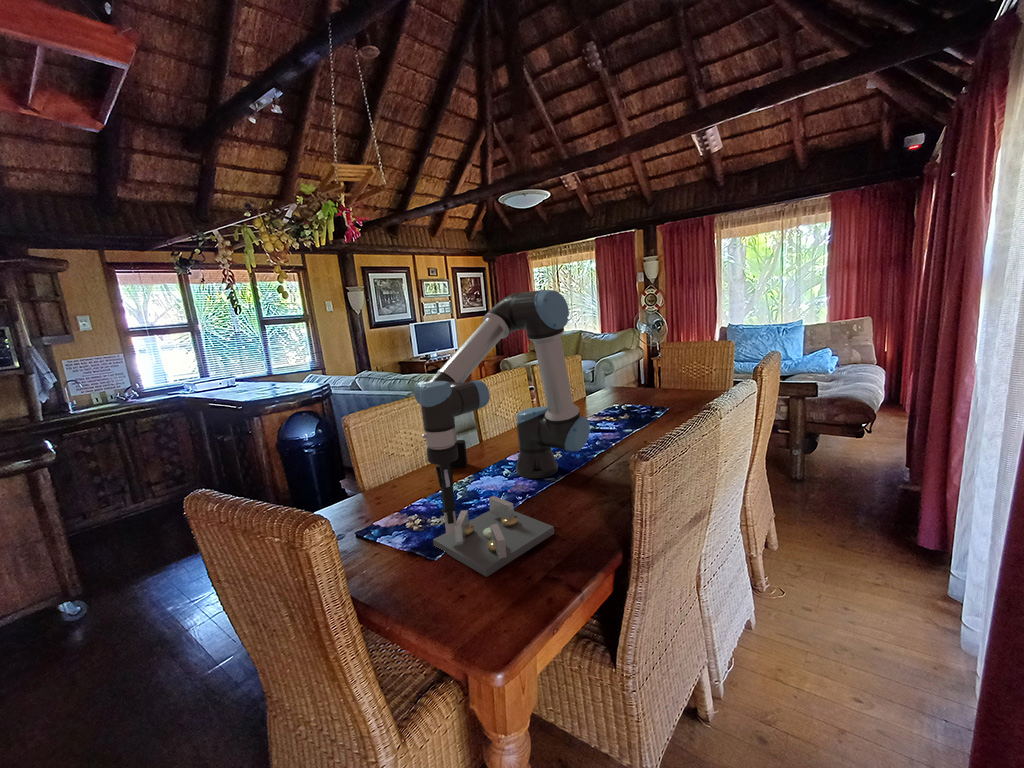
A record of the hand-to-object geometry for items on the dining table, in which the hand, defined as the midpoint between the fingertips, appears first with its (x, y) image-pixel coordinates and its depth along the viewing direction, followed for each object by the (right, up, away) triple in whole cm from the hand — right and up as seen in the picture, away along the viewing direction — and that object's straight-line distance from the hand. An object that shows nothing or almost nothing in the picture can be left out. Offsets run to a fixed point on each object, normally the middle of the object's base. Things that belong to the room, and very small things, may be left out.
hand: (451, 532), depth 114 cm
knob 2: (+13, 0, +9) cm, 16 cm away
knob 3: (+12, -3, -7) cm, 14 cm away
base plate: (+11, -3, +3) cm, 12 cm away
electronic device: (-7, +6, +60) cm, 60 cm away
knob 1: (+3, -2, +2) cm, 4 cm away
